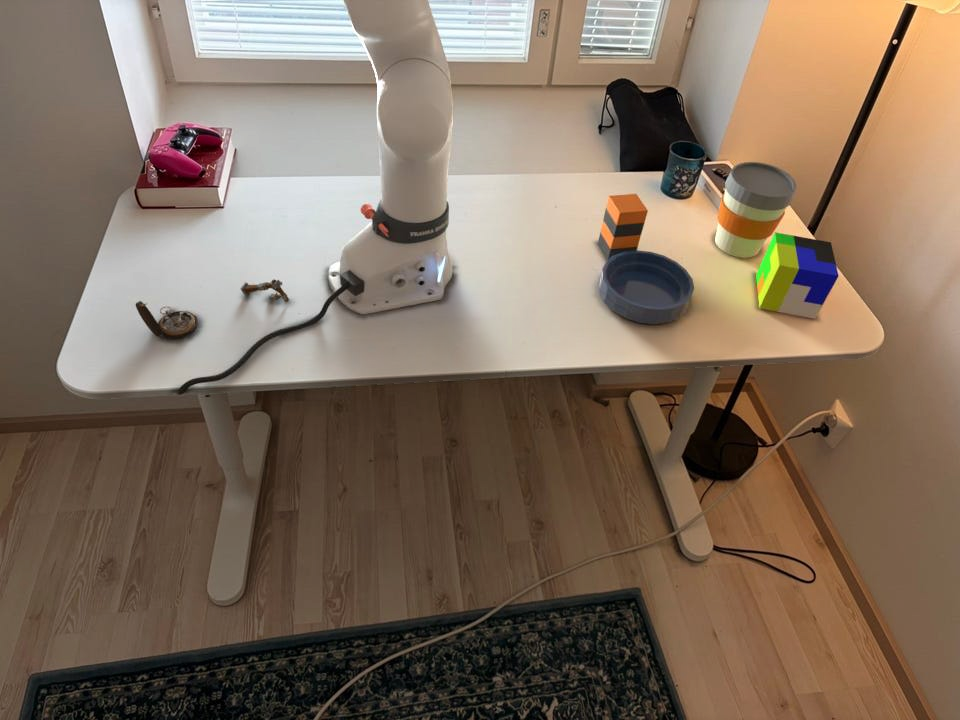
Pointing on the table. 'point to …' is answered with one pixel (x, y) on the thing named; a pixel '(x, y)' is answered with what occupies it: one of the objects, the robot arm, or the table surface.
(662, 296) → the bowl
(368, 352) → the table surface
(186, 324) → the compass
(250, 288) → the gnarled brown twig
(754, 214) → the reusable coffee cup
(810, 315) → the puzzle toy
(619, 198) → the puzzle tower
